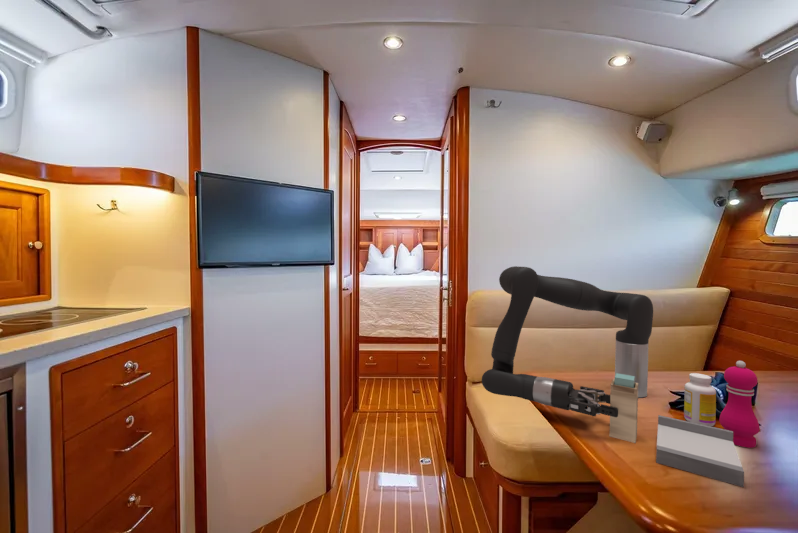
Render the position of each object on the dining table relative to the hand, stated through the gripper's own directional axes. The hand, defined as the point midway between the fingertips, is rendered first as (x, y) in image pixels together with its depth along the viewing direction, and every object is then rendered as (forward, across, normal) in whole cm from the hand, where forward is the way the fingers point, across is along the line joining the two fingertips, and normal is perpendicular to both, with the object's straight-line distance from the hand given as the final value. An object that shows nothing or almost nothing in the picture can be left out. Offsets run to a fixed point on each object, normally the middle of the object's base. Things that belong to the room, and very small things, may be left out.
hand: (620, 407), depth 92 cm
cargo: (+1, 0, -5) cm, 5 cm away
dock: (+15, -2, +7) cm, 16 cm away
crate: (+1, 0, +7) cm, 7 cm away
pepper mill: (+24, +14, +7) cm, 29 cm away
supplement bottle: (+17, +22, +7) cm, 29 cm away
